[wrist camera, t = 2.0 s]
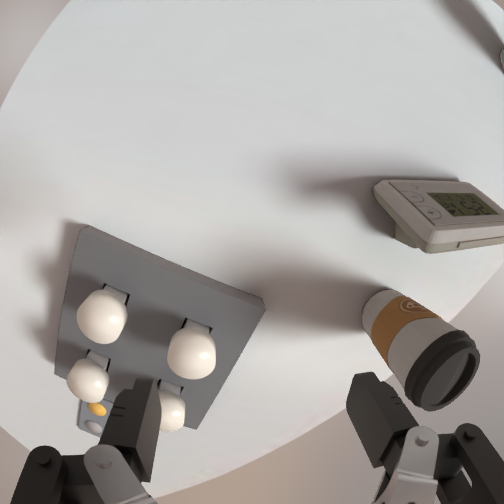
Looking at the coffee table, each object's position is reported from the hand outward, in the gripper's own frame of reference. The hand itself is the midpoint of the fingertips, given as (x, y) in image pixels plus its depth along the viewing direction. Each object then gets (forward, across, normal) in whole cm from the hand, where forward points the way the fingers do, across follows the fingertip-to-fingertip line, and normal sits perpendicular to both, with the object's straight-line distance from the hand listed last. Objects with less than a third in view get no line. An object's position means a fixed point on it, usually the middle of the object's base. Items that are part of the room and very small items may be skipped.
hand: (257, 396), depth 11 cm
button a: (+18, +13, +4) cm, 23 cm away
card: (+20, +18, +26) cm, 38 cm away
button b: (+18, +16, +13) cm, 28 cm away
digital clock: (+21, -22, -6) cm, 31 cm away
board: (+20, +10, +10) cm, 25 cm away
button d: (+19, +8, +16) cm, 26 cm away
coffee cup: (+21, -18, +7) cm, 29 cm away
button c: (+19, +4, +8) cm, 21 cm away
